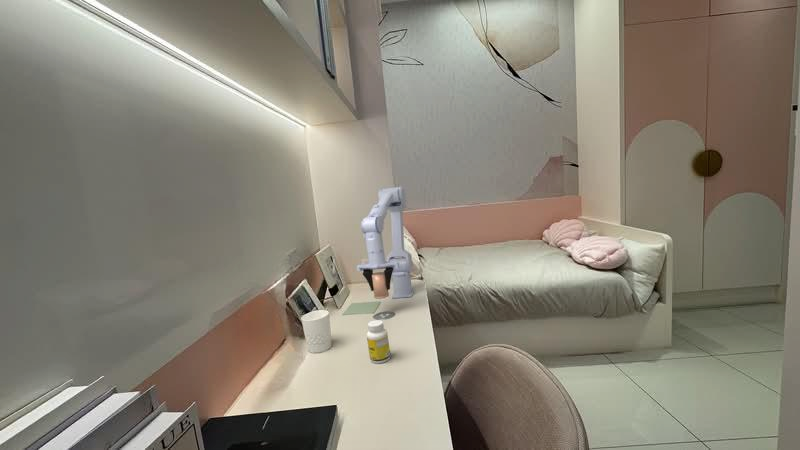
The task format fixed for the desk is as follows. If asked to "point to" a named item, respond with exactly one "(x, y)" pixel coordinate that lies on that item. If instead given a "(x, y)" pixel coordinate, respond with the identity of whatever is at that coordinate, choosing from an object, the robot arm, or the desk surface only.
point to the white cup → (317, 331)
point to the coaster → (384, 315)
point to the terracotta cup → (379, 285)
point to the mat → (362, 308)
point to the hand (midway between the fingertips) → (380, 289)
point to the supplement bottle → (378, 342)
